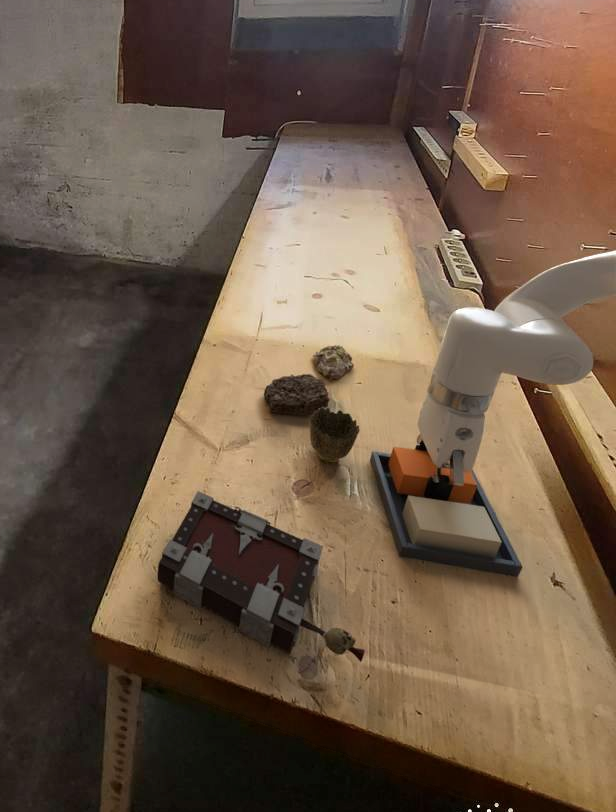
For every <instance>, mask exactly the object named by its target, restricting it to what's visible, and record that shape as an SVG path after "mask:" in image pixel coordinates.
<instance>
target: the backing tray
mask: <svg viewBox="0 0 616 812" xmlns="http://www.w3.org/2000/svg"><path fill="white" fill-rule="evenodd" d="M390 457H391V453H388V452H387V453H386V452H379V451H378V452H377V451H371V455H370V458H369V462H370V466H371V469H372V473H373V476H374V479H375V483H376V485H377V489H378V492H379V496H380V499H381V502H382V505H383V509H384V512H385V515H386V518H387V523H388V525H389V529H390V532H391V535H392V539H393V542H394V546H395V548H396V552H397V555H398V557H399V558H404V559H409V560H416V561H422V562H428V563H434V564H440V565H444V566H445V565H446V566H451V567H457V568H461V569H469V570H473V571H480V572H486V573H490V574H491V573H492V574H496V575H497V574H498V575H502V576H503V575H504V576H509V577H515V578H519V576H520V574H521V571H522V570H523V565H522V563H521V561H520V559H519V557H518V555H517V553H516V551H515V549H514V547H513V545H512V543H511V541H510V540H509V538H508V536H507V534H506V531H505V530H504V528H503V526H502V524H501V522H500V520H499V517H498V516H497V514H496V512H495V510H494V508H493V507H492V504H491V503H490V501H489V499H488V497H487V494H486V492H485V491H484V489H483V487H482V484H481V483H480V481H479V479H478V477H477V475H476V473H475V471H474V468H473V469H472V470H471V473H472V475H473V477H474V479H475V481H476V483H477V488H476V490H475V493H474V495H473V498H472V500H471V503H470V504H469V505H475V506H482V507H485V509H486V511H487V513H488V515H489V517H490V519H491V521H492V523H493V525H494V527H495V529H496V532H497V534H498V536H499V538H500V540H501V542H502V543H501V545H500V547H499V550H498V552H497V554H496V556H495V558H492V557H486V556H480V555H474V554H468V553H462V552H457V551H451V550H445V549H439V548H433V547H427V546H421V545H415V544H412V542H411V539H410V536H409V533H408V530H407V527H406V524H405V521H404V518H403V515H402V513H403V510H404V507H405V504H406V501H407V498H408V495H407V494H401V493H398V492H397V489H396V486H395V484H394V481H393V478H392V475H391V472H390V469H389V466H388V464H389V460H390ZM409 496H414V495H409ZM415 497H420V496H415ZM422 498H425V497H422ZM449 502H453V501H449ZM455 503H460V502H455ZM462 504H467V503H462Z"/></svg>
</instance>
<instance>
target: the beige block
mask: <svg viewBox="0 0 616 812" xmlns="http://www.w3.org/2000/svg"><path fill="white" fill-rule="evenodd" d="M402 515H403V518H404V521H405V524H406V527H407V530H408V533H409V536H410V539H411V542H412V544H415V545H421V546H427V547H433V548H439V549H445V550H451V551H457V552H462V553H468V554H474V555H480V556H486V557H492V558H495V556H496V554H497V552H498V550H499V547H500V545H501V543H502V542H501V540H500V538H499V536H498V534H497V532H496V529H495V527H494V525H493V523H492V521H491V519H490V517H489V515H488V513H487V511H486V509H485V507H482V506H475V505H469V504H462V503H455V502H449V501H442V500H435V499H429V498H422V497H415V496H409V495H408V498H407V501H406V504H405V507H404V510H403V513H402Z"/></svg>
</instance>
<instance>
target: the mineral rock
mask: <svg viewBox="0 0 616 812" xmlns="http://www.w3.org/2000/svg"><path fill="white" fill-rule="evenodd" d="M314 353H315V354H313V355H312V358H313V363H314V365H315V367H316V368H317V371H318V372H319V373H321V374H323V376H324V377H325V378H328V379H329V380H334V379H336V380H339V379H341V378H343V377H344V376H345V374H346V372H351V371H352V370H353V369H354V366H355V364H354V363H353V358H352V356H351V355H350V354H349V353H348V352H347V350H346V349H345V348H344V347H343V346H342V345H339V344H338V345H337V344H334V345H328V346H326V347H323V348H321V349H320V351H316V352H314Z"/></svg>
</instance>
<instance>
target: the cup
mask: <svg viewBox="0 0 616 812" xmlns="http://www.w3.org/2000/svg"><path fill="white" fill-rule="evenodd" d="M359 433H360V425H359V424H358V425H357V420H356V419H354V420H353V417H352V416H351V414H350V413H349V412H347V413H344V412H343V410H341V409H338V410H337V412H336V413H335V412H334V411H331V410H330V407H326V408H323V407H322V408H320V409H319V410H318V411H316V410H315V411H313V414H311V416H310V429H309V434H310V435H309V438H310V443H311V447H312V448H313V450H314V451H315V453H316V456H317V458H318V459H319V460H320V461H322V462H324V463H327V464H335V463H337V462H339V460H341V459H343V458H345V457H346V456H348V455H349V453H350V452H351V450H352V449H353V446H354V444H355V443H356V440H357V437H358V435H359Z"/></svg>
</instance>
